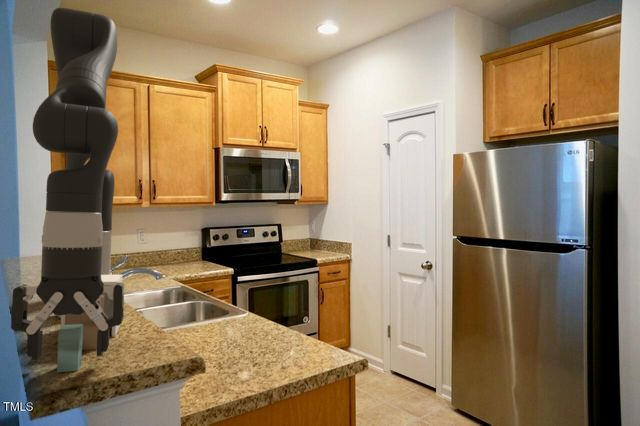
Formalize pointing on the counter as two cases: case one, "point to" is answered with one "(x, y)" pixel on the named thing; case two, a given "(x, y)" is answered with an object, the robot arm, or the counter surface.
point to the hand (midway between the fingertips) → (68, 356)
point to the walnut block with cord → (76, 339)
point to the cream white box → (106, 299)
